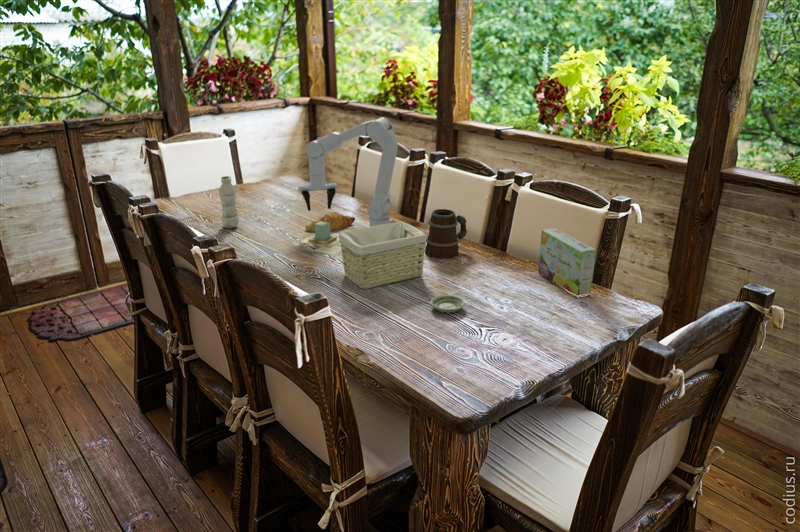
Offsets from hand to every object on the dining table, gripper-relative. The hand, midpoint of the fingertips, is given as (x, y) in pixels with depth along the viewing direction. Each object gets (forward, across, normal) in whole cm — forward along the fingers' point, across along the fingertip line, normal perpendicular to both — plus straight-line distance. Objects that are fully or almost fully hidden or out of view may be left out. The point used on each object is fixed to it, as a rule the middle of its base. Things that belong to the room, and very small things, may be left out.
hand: (319, 209), depth 226 cm
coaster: (+10, +1, +19) cm, 21 cm away
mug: (+10, -38, +33) cm, 51 cm away
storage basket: (+10, -10, +46) cm, 48 cm away
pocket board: (+10, +1, +9) cm, 13 cm away
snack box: (+11, -61, +70) cm, 94 cm away
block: (+9, +1, +9) cm, 13 cm away
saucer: (+11, -20, +75) cm, 78 cm away
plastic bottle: (+10, +32, -19) cm, 38 cm away
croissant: (+10, -5, -6) cm, 13 cm away
